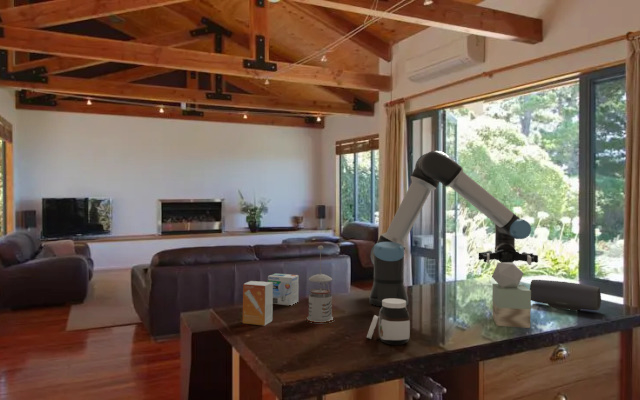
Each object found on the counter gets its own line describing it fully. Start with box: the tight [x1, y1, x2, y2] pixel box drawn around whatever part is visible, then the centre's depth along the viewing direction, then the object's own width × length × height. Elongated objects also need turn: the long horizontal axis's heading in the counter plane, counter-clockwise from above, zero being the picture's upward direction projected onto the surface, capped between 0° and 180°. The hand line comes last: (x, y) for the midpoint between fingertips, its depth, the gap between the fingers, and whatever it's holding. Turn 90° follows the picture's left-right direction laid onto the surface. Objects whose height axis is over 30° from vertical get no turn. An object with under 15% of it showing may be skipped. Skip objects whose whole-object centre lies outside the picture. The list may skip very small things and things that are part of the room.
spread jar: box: [366, 298, 411, 346], centre depth 133 cm, size 12×11×12 cm
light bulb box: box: [267, 273, 300, 306], centre depth 179 cm, size 11×7×11 cm, turn 68°
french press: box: [306, 245, 334, 322], centre depth 156 cm, size 10×12×25 cm
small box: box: [242, 280, 274, 327], centre depth 151 cm, size 8×6×13 cm
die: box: [491, 262, 525, 288], centre depth 153 cm, size 8×9×10 cm
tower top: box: [492, 283, 532, 310], centre depth 153 cm, size 10×10×6 cm
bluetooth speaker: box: [529, 279, 602, 311], centre depth 173 cm, size 23×9×10 cm, turn 49°
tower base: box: [492, 301, 531, 329], centre depth 153 cm, size 10×10×6 cm
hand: (508, 260), depth 161 cm, fingers open, 13 cm apart
